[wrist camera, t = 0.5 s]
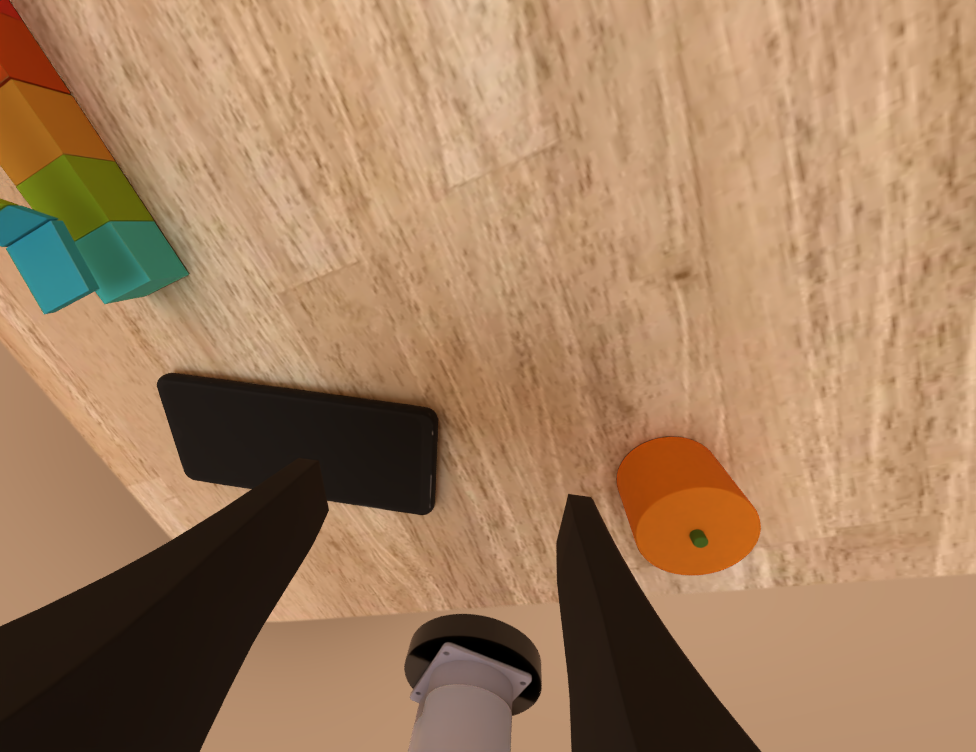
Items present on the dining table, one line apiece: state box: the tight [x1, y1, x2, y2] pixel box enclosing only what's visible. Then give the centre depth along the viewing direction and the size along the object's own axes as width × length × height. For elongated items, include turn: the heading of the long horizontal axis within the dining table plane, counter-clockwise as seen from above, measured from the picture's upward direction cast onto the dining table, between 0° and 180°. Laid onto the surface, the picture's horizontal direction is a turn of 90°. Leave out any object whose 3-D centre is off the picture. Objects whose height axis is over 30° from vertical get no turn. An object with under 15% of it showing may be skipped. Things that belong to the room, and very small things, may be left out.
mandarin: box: [617, 437, 761, 575], centre depth 17 cm, size 5×5×4 cm
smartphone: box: [157, 373, 438, 515], centre depth 20 cm, size 7×1×15 cm
